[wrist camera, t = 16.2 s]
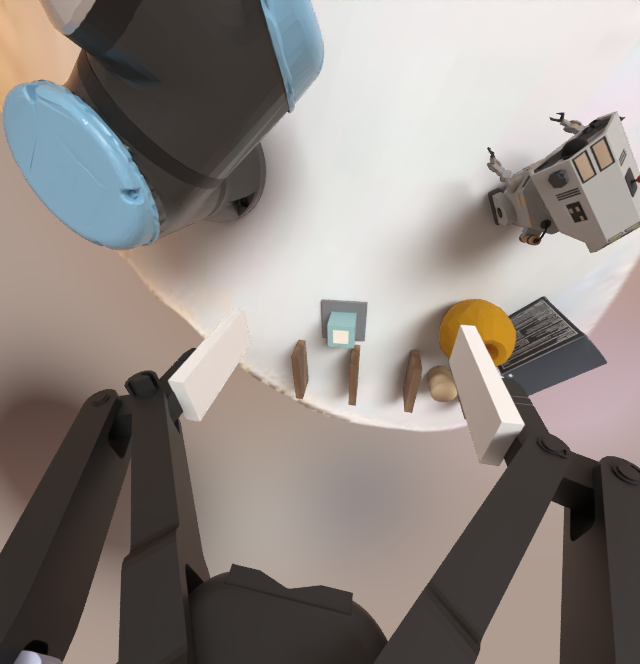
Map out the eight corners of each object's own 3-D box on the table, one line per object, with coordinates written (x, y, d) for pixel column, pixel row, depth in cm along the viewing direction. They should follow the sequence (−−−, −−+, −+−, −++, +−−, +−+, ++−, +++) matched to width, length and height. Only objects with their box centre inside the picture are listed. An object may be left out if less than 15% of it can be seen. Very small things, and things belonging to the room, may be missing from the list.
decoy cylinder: (425, 381, 55) (428, 400, 51) (429, 365, 52) (433, 383, 48) (448, 383, 54) (454, 403, 50) (454, 367, 52) (460, 386, 48)
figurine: (565, 96, 29) (694, 64, 17) (576, 200, 34) (683, 231, 22) (473, 147, 33) (525, 150, 21) (494, 234, 38) (547, 277, 26)
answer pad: (323, 336, 53) (322, 337, 53) (322, 299, 49) (321, 300, 48) (364, 339, 52) (364, 341, 51) (367, 302, 47) (367, 303, 47)
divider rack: (302, 379, 61) (296, 398, 57) (298, 340, 55) (291, 357, 50) (465, 397, 55) (472, 420, 51) (481, 356, 49) (491, 377, 45)
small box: (499, 355, 48) (524, 400, 40) (477, 332, 47) (498, 375, 38) (566, 321, 43) (611, 365, 34) (544, 294, 41) (586, 333, 33)
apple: (433, 339, 49) (445, 386, 40) (432, 290, 44) (446, 331, 35) (494, 334, 46) (523, 384, 37) (501, 282, 41) (536, 324, 32)
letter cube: (331, 311, 49) (327, 325, 45) (356, 313, 48) (354, 327, 45) (331, 332, 52) (327, 346, 48) (355, 333, 51) (353, 349, 47)
